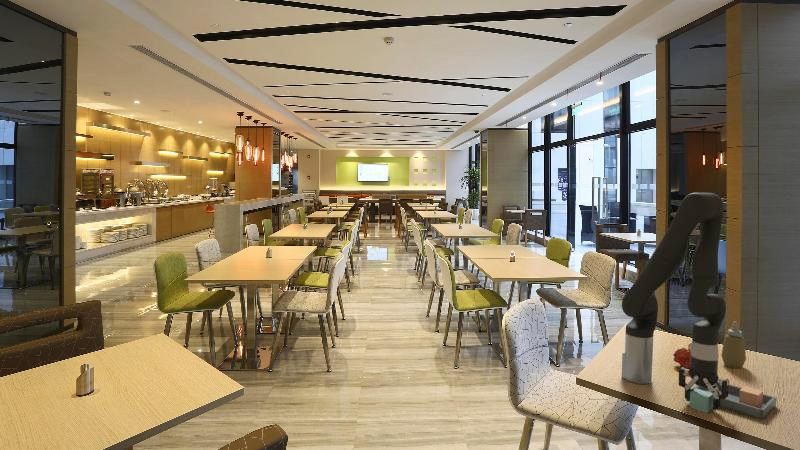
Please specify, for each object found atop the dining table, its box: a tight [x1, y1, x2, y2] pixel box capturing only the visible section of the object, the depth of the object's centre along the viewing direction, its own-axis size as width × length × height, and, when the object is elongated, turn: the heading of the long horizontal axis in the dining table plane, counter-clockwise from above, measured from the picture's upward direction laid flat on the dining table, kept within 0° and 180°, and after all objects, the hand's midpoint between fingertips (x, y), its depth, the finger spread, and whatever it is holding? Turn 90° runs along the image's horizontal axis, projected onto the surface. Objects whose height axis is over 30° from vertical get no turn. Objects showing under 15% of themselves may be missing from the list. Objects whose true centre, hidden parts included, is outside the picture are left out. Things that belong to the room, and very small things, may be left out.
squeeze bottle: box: [721, 320, 747, 369], centre depth 189 cm, size 8×8×18 cm
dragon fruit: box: [672, 347, 691, 370], centre depth 187 cm, size 8×8×12 cm
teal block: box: [689, 388, 713, 414], centre depth 155 cm, size 5×5×5 cm
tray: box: [691, 381, 777, 421], centre depth 159 cm, size 20×14×3 cm
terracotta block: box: [739, 385, 764, 408], centre depth 155 cm, size 5×5×5 cm
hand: (701, 404), depth 155 cm, fingers open, 7 cm apart
